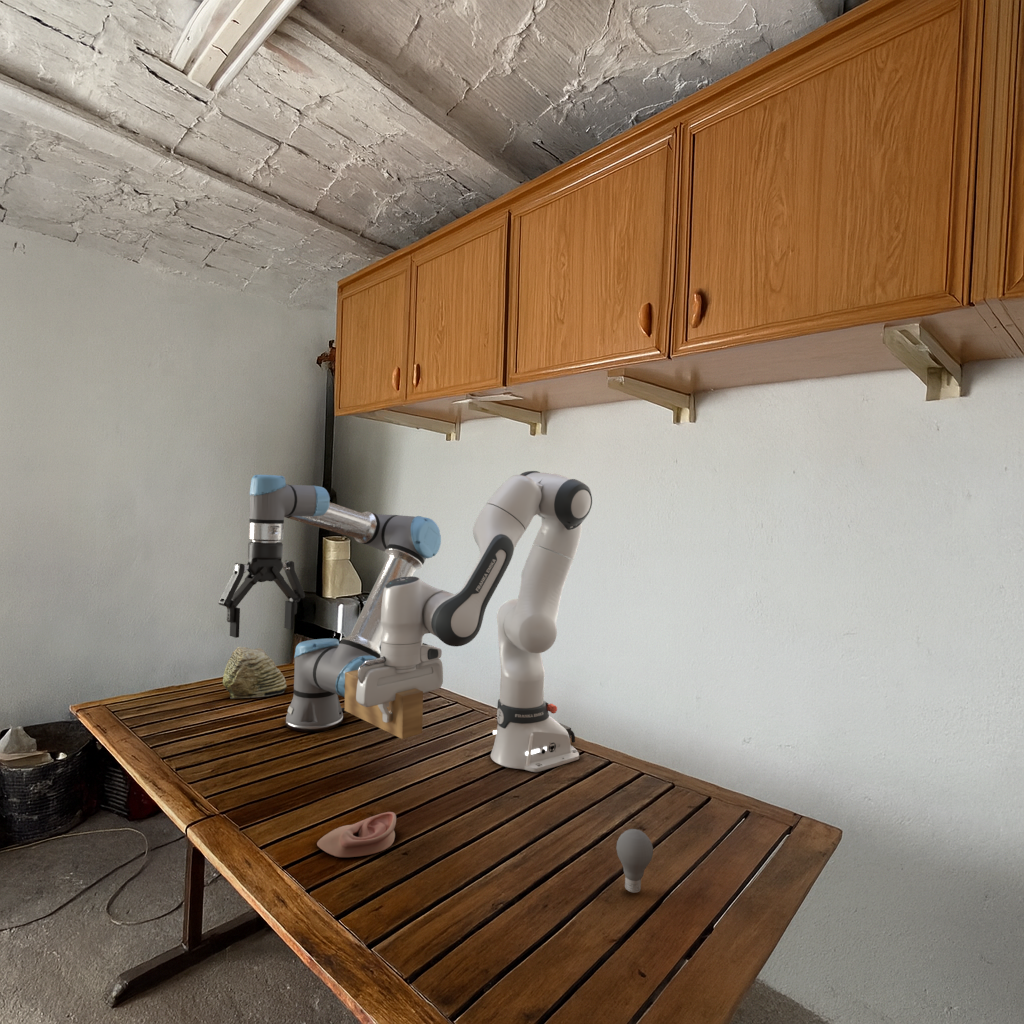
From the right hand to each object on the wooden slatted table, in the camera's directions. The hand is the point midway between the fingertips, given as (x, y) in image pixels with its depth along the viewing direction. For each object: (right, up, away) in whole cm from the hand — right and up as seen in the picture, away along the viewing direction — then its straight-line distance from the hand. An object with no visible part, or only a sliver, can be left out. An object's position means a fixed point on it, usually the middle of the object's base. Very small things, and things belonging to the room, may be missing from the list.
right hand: (400, 717), depth 135 cm
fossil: (-57, -13, +63) cm, 86 cm away
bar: (-5, -2, +5) cm, 8 cm away
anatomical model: (-5, -17, -18) cm, 26 cm away
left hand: (-34, +16, +12) cm, 40 cm away
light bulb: (+44, -19, -30) cm, 56 cm away
